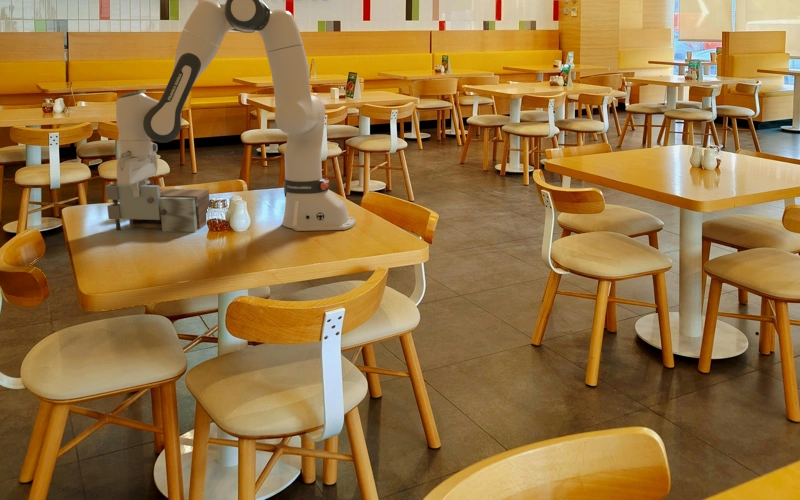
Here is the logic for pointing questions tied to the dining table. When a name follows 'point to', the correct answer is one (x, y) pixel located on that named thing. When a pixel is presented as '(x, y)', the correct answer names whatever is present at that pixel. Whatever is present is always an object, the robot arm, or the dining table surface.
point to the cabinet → (177, 211)
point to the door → (134, 202)
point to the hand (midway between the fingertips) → (139, 195)
